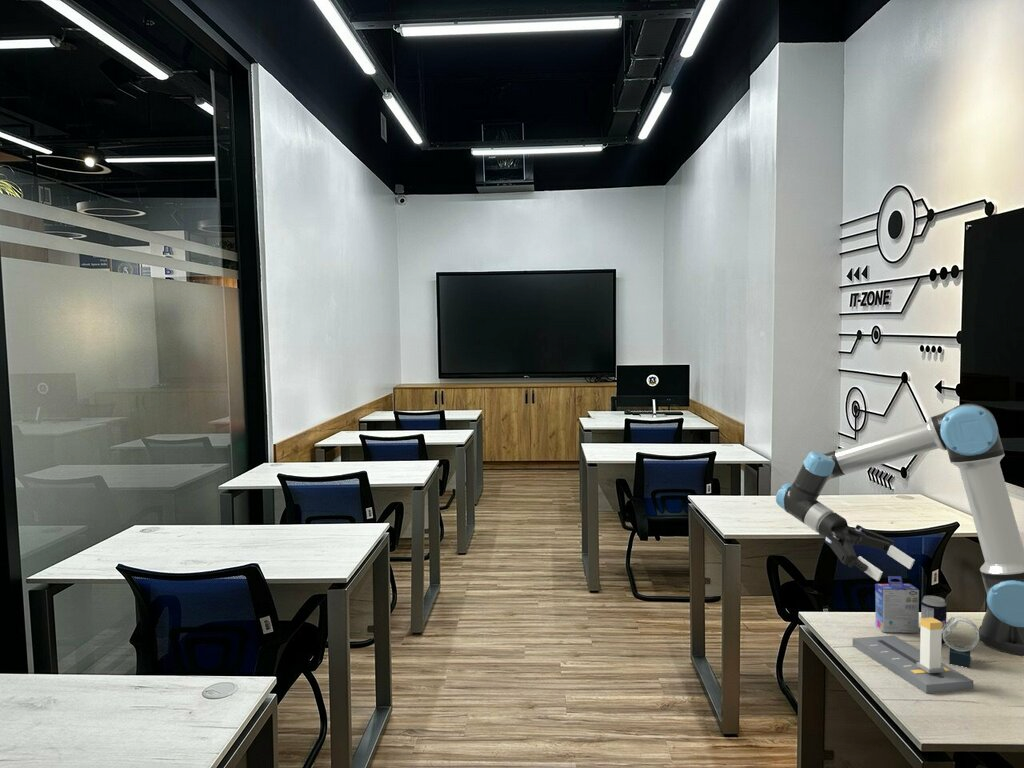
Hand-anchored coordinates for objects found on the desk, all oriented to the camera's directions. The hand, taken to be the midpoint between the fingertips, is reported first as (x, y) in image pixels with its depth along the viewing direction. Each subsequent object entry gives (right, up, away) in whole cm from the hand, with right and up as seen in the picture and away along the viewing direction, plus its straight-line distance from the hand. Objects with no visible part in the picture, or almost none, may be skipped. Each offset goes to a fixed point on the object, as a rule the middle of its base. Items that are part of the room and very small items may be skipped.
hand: (896, 570), depth 174 cm
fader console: (0, -22, -5) cm, 23 cm away
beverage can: (+14, -22, +8) cm, 27 cm away
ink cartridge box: (+10, -21, +18) cm, 30 cm away
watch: (+14, -22, -3) cm, 26 cm away
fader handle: (+1, -20, -12) cm, 23 cm away
